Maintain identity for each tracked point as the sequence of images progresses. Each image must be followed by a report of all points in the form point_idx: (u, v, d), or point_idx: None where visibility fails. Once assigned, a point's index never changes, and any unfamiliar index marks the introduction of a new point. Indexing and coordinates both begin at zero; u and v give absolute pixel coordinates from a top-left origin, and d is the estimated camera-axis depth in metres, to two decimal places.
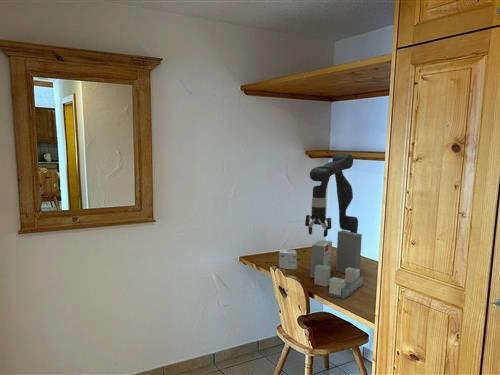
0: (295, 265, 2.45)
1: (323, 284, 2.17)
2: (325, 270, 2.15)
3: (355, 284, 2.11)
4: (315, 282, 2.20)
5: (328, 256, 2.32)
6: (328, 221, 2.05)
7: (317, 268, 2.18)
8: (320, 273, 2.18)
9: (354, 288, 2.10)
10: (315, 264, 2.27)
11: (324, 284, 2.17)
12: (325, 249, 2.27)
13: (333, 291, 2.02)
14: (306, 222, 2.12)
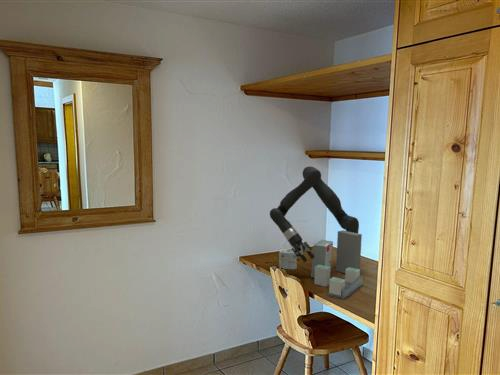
0: (295, 265, 2.45)
1: (323, 284, 2.17)
2: (325, 270, 2.15)
3: (355, 284, 2.11)
4: (315, 282, 2.20)
5: (329, 257, 2.32)
6: None
7: (317, 268, 2.18)
8: (320, 273, 2.18)
9: (354, 288, 2.10)
10: (316, 264, 2.27)
11: (324, 284, 2.17)
12: (327, 249, 2.26)
13: (333, 291, 2.02)
14: None
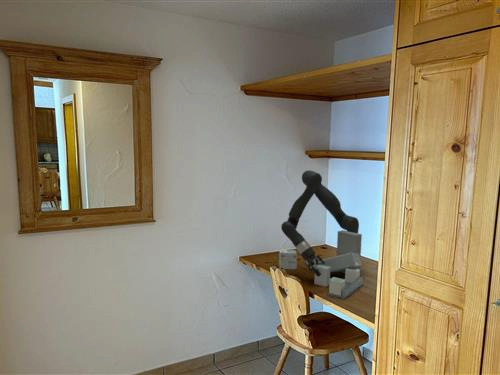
0: (295, 265, 2.45)
1: (323, 284, 2.17)
2: (325, 270, 2.15)
3: (355, 284, 2.11)
4: (315, 282, 2.20)
5: (345, 268, 2.29)
6: None
7: (317, 268, 2.18)
8: (320, 273, 2.18)
9: (354, 288, 2.10)
10: (334, 262, 2.24)
11: (324, 284, 2.17)
12: (352, 266, 2.21)
13: (333, 291, 2.02)
14: None
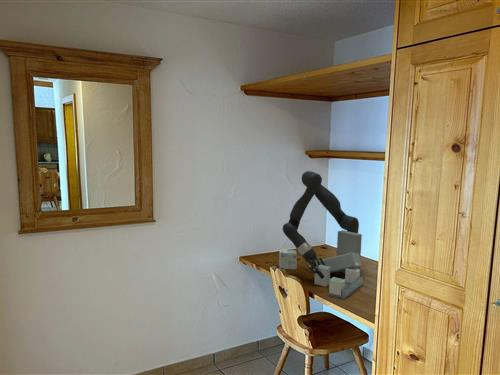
0: (295, 265, 2.45)
1: (323, 284, 2.17)
2: (325, 270, 2.15)
3: (355, 284, 2.11)
4: (315, 282, 2.20)
5: (345, 268, 2.29)
6: None
7: None
8: None
9: (354, 288, 2.10)
10: (334, 262, 2.24)
11: (324, 284, 2.17)
12: (352, 266, 2.21)
13: (333, 291, 2.02)
14: None
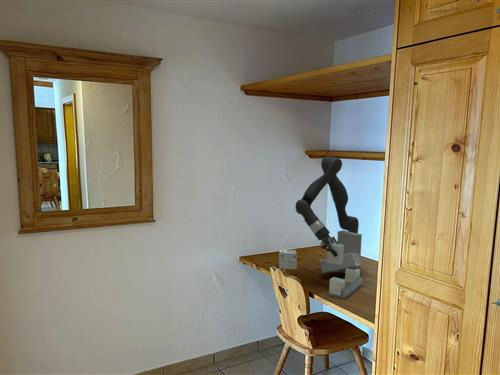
0: (295, 265, 2.45)
1: (336, 262, 2.11)
2: (339, 248, 2.10)
3: (355, 284, 2.11)
4: (328, 260, 2.14)
5: (345, 268, 2.29)
6: None
7: None
8: None
9: (354, 288, 2.10)
10: None
11: (337, 262, 2.11)
12: (352, 266, 2.21)
13: (333, 291, 2.02)
14: None
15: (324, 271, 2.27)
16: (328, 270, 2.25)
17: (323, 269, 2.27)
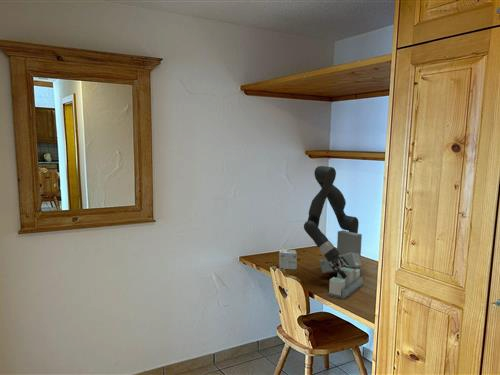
0: (295, 265, 2.45)
1: None
2: (348, 272, 2.07)
3: (355, 284, 2.11)
4: None
5: None
6: None
7: None
8: None
9: (354, 288, 2.10)
10: None
11: None
12: (352, 266, 2.21)
13: (333, 291, 2.02)
14: None
15: (324, 271, 2.27)
16: (328, 270, 2.25)
17: (323, 269, 2.27)
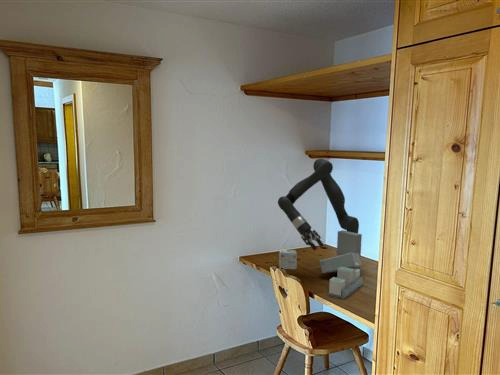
0: (295, 265, 2.45)
1: None
2: (348, 272, 2.07)
3: (355, 284, 2.11)
4: None
5: None
6: None
7: (340, 270, 2.10)
8: (342, 276, 2.10)
9: (354, 288, 2.10)
10: (334, 262, 2.24)
11: None
12: (352, 266, 2.21)
13: (333, 291, 2.02)
14: None
15: (324, 271, 2.27)
16: (328, 270, 2.25)
17: (323, 269, 2.27)
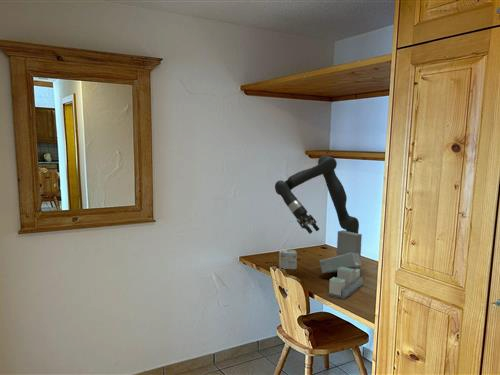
0: (295, 265, 2.45)
1: None
2: (348, 272, 2.07)
3: (355, 284, 2.11)
4: None
5: None
6: None
7: (340, 270, 2.10)
8: (342, 276, 2.10)
9: (354, 288, 2.10)
10: (334, 262, 2.24)
11: None
12: (352, 266, 2.21)
13: (333, 291, 2.02)
14: None
15: (324, 271, 2.27)
16: (328, 270, 2.25)
17: (323, 269, 2.27)
